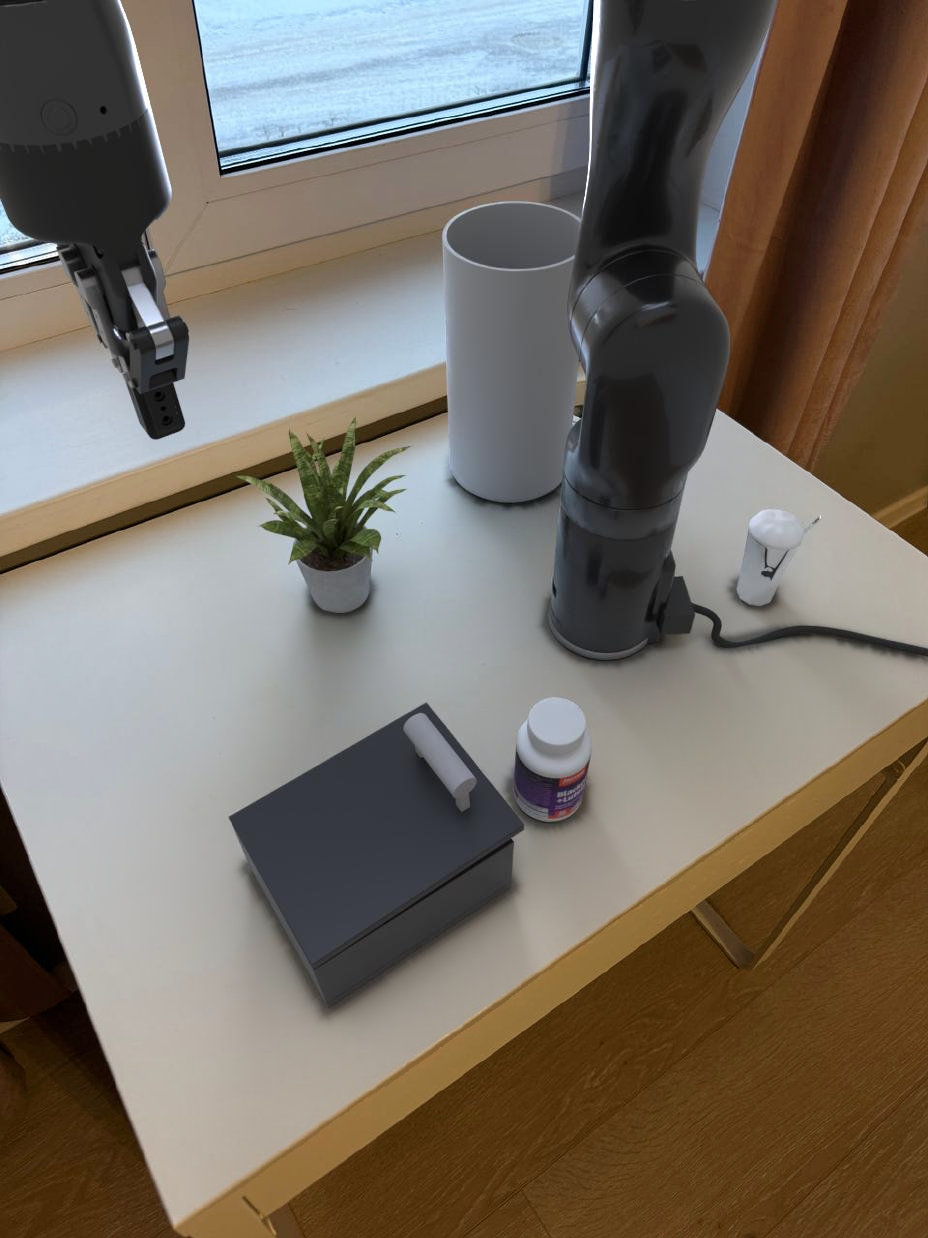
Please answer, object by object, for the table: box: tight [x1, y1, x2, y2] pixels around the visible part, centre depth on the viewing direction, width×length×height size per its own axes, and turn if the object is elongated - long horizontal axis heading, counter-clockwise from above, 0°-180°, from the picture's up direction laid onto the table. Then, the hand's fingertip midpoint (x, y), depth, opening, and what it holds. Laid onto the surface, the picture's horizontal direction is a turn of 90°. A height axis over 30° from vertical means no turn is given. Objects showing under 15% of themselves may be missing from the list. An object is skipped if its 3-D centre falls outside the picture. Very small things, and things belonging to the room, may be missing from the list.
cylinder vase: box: [441, 200, 581, 504], centre depth 85 cm, size 12×12×25 cm
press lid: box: [228, 701, 525, 969], centre depth 57 cm, size 16×12×5 cm
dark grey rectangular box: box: [231, 824, 515, 1009], centre depth 62 cm, size 15×12×7 cm
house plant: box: [233, 416, 413, 614], centre depth 76 cm, size 14×14×16 cm
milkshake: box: [736, 508, 822, 607], centre depth 78 cm, size 4×5×10 cm
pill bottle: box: [513, 696, 593, 823], centre depth 65 cm, size 5×5×10 cm
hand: (164, 428), depth 52 cm, fingers closed
